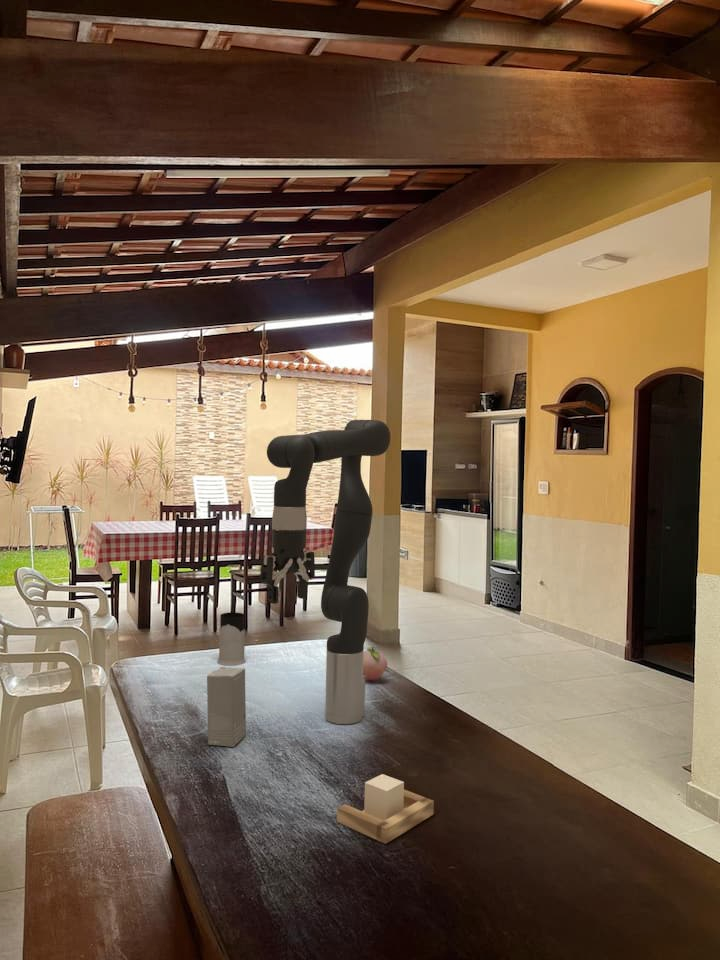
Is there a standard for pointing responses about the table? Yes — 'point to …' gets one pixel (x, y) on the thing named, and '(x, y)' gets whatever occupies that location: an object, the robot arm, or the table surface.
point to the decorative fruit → (373, 664)
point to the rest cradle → (392, 827)
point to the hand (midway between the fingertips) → (287, 600)
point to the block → (383, 797)
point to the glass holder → (231, 639)
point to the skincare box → (226, 706)
